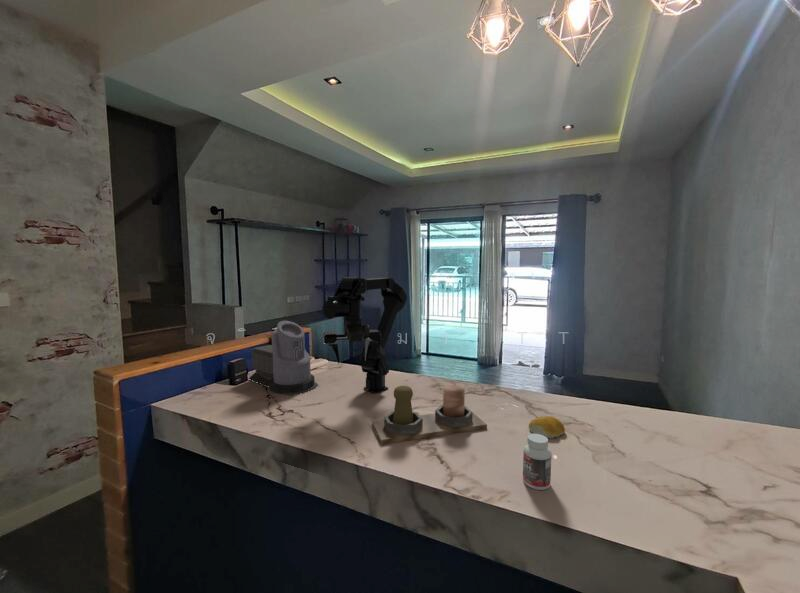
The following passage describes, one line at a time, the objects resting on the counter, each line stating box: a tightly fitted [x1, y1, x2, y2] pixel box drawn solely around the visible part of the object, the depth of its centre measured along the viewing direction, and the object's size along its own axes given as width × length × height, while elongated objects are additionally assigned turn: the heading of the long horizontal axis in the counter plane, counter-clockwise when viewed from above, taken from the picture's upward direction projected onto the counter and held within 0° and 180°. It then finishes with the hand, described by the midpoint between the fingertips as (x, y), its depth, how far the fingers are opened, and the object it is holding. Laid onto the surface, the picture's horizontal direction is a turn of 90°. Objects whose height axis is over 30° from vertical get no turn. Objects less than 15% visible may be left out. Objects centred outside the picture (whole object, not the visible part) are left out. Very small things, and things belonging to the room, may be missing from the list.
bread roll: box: [528, 415, 566, 439], centre depth 98 cm, size 8×9×4 cm
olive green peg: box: [393, 385, 414, 425], centre depth 98 cm, size 6×6×11 cm
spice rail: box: [371, 384, 488, 445], centre depth 100 cm, size 30×11×10 cm, turn 107°
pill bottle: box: [522, 433, 552, 491], centre depth 74 cm, size 5×5×10 cm
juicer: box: [248, 320, 319, 396], centre depth 136 cm, size 30×16×24 cm, turn 54°
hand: (352, 361), depth 119 cm, fingers open, 9 cm apart
